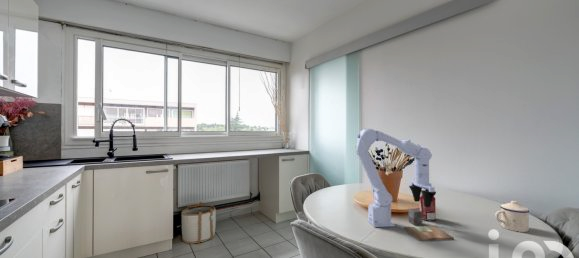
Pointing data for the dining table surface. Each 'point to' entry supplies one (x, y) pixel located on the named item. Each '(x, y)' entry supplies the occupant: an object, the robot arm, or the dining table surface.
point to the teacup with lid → (514, 217)
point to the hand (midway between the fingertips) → (421, 203)
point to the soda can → (427, 209)
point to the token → (415, 217)
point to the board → (428, 233)
